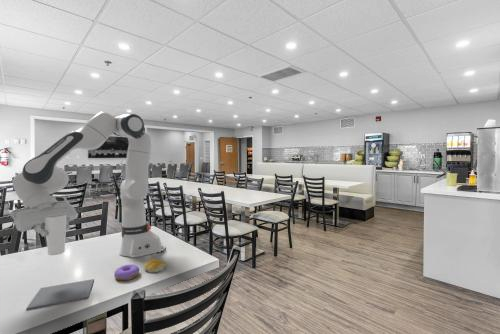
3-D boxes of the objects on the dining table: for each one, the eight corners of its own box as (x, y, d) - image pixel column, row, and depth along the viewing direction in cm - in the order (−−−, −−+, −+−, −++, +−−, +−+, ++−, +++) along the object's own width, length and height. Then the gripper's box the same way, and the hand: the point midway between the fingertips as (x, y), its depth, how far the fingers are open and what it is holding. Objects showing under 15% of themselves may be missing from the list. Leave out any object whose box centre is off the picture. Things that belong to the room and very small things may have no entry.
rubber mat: (93, 280, 101) (93, 279, 101) (88, 298, 88) (88, 296, 88) (40, 289, 94) (40, 288, 94) (26, 310, 81) (26, 308, 81)
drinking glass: (71, 251, 101) (70, 214, 100) (53, 257, 94) (52, 218, 94) (59, 249, 103) (58, 213, 102) (41, 255, 97) (40, 216, 96)
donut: (115, 272, 108) (117, 261, 108) (138, 273, 111) (140, 262, 112) (111, 282, 99) (114, 270, 99) (136, 283, 102) (139, 272, 102)
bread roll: (155, 263, 118) (155, 255, 118) (168, 268, 114) (168, 259, 113) (139, 270, 111) (139, 261, 111) (152, 275, 107) (152, 265, 106)
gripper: (11, 205, 91) (29, 234, 87) (69, 197, 110) (85, 221, 107) (4, 216, 92) (21, 245, 89) (63, 206, 111) (78, 230, 108)
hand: (57, 232), depth 98 cm, fingers closed on drinking glass, 6 cm apart
